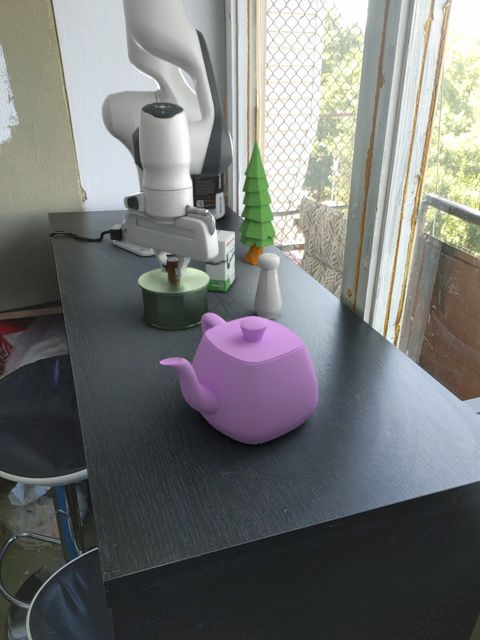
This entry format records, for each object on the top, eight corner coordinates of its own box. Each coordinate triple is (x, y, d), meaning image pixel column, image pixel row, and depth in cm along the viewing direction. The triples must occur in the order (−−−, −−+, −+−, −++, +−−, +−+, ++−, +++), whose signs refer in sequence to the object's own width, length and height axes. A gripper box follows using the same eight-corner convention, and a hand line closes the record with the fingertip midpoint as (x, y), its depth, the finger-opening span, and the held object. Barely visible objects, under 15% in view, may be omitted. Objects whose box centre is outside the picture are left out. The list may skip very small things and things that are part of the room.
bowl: (131, 319, 105) (127, 284, 101) (173, 299, 114) (171, 266, 110) (179, 336, 99) (177, 299, 95) (219, 313, 108) (219, 279, 104)
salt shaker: (285, 312, 109) (287, 252, 103) (276, 323, 104) (279, 261, 98) (258, 308, 111) (259, 248, 104) (249, 319, 106) (249, 257, 100)
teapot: (246, 362, 91) (246, 281, 83) (333, 420, 76) (343, 328, 69) (125, 409, 78) (112, 318, 71) (203, 489, 64) (198, 385, 56)
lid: (123, 287, 101) (120, 262, 99) (171, 267, 111) (169, 244, 109) (177, 304, 95) (176, 277, 92) (223, 281, 105) (223, 256, 102)
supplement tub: (234, 216, 175) (234, 133, 162) (198, 225, 165) (195, 137, 152) (203, 208, 184) (200, 128, 172) (167, 215, 174) (162, 132, 161)
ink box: (226, 292, 118) (225, 241, 112) (205, 290, 118) (203, 239, 113) (235, 279, 125) (235, 230, 119) (215, 277, 126) (214, 228, 120)
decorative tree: (250, 253, 142) (251, 134, 127) (282, 258, 138) (287, 137, 124) (233, 264, 134) (232, 139, 120) (267, 270, 131) (270, 142, 116)
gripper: (225, 207, 93) (226, 280, 99) (141, 191, 102) (147, 259, 109) (202, 214, 88) (205, 290, 95) (116, 197, 98) (124, 267, 104)
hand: (173, 273), depth 102 cm, fingers closed on lid, 2 cm apart
